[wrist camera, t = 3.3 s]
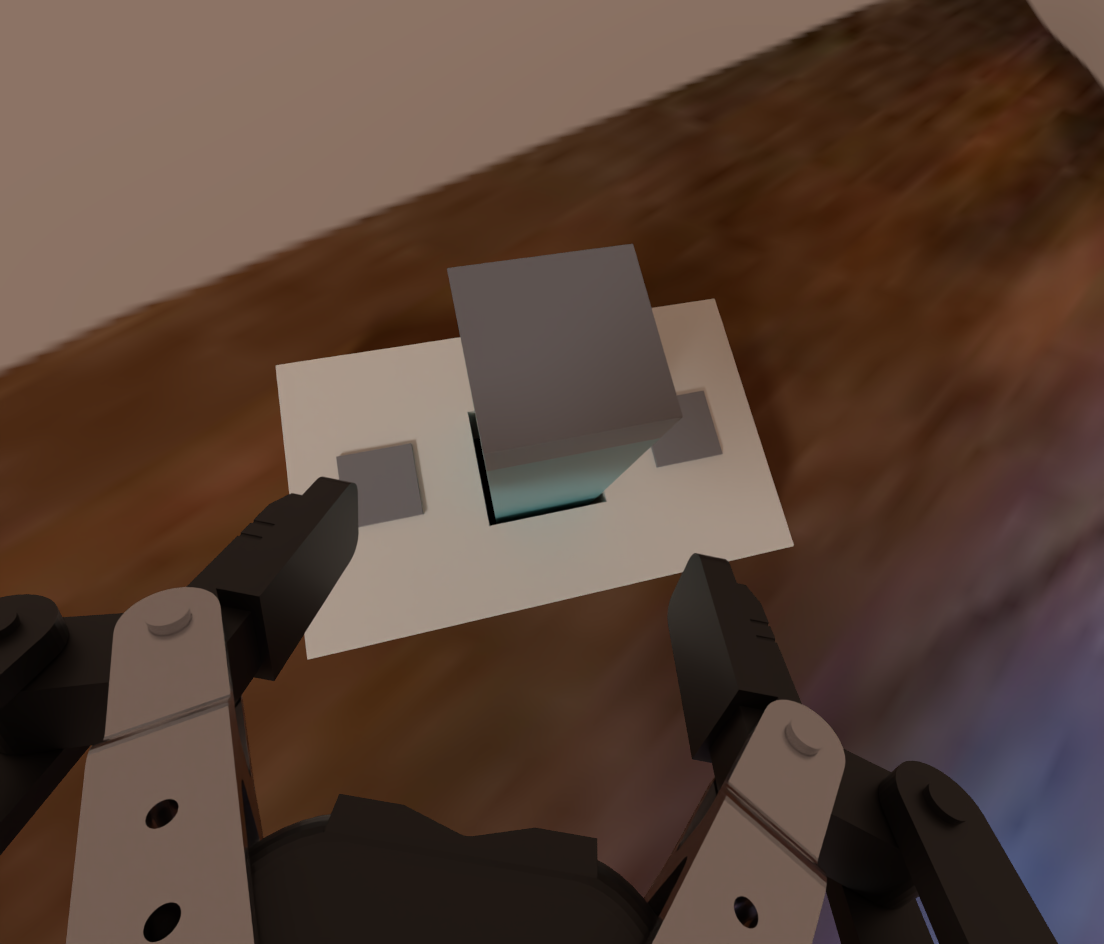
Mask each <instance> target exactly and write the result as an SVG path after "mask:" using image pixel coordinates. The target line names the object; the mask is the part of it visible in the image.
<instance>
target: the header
mask: <svg viewBox="0 0 1104 944" xmlns="http://www.w3.org/2000/svg"><path fill="white" fill-rule="evenodd" d="M652 312H653V315H654V318H655V322H656V325H657V329H658V332H659V336H660V339H661V343H662V346H663V350H664V353H665V356H666V360H667V363H668V367H669V370H670V374H671V377H672V381H673V384H674V388H675V391H676V394H677V398H678V401H679V405H680V408H681V412H682V415H683V417H682V418H681V419H680V420H679V421H678V422H677V423H676V424H675V425H674V426H672V427H671V428H670V429H669V430H668V431H667V432H666V433H665V434H664V435H663V436H662V437H661V438H660V439H659V440H658V441H657V442H655V443H654V444H653V445H652V446H651V447H650V448H649V449H648V450H647V451H646V452H645V453H644V454H643V455H642V456H641V457H640V458H638V459H637V460H636V461H635V462H634V463H633V464H632V465H631V466H630V467H629V468H628V469H627V470H626V471H625V472H624V473H622V474H621V475H620V476H619V477H618V478H617V479H616V480H615V481H614V482H613V483H612V484H611V485H610V486H609V487H608V488H607V489H605V490H604V491H603V492H602V493H601V494H600V495H599V496H598V497H597V498H596V499H595V500H594V501H593V502H592V503H591V504H590V505H588V506H583V507H578V508H574V509H569V510H564V511H559V512H554V513H549V514H545V515H540V516H535V517H530V518H525V519H521V520H516V521H511V522H506V523H501V524H496V525H492V526H491V525H490V520H489V515H488V509H487V504H486V499H485V494H484V489H483V484H482V478H481V473H480V468H479V463H478V458H477V453H476V447H475V442H474V439H477V438H480V437H479V431H478V426H477V421H476V416H475V411H474V406H473V400H472V395H471V390H470V385H469V380H468V374H467V369H466V364H465V359H464V354H463V348H462V343H461V338H460V337H459V338H452V339H446V340H439V341H433V342H426V343H420V344H413V345H407V346H400V347H393V348H387V349H380V350H374V351H367V352H361V353H354V354H348V355H341V356H335V357H328V358H321V359H315V360H308V361H302V362H295V363H289V364H282V365H276V374H277V383H278V392H279V401H280V411H281V420H282V429H283V438H284V448H285V457H286V466H287V475H288V485H289V494H291V493H295V494H300V495H303V494H304V492H305V491H306V490H307V489H308V488H309V487H310V486H311V485H312V484H313V483H314V482H315V481H316V480H317V479H318V478H319V477H322V476H323V477H328V478H333V479H338V480H343V481H348V482H353V483H355V484H356V485H357V489H358V530H359V534H358V542H357V546H356V550H355V553H354V555H353V557H352V559H351V561H350V563H349V564H348V566H347V567H346V569H345V570H344V572H343V574H342V575H341V577H340V578H339V580H338V581H337V583H336V585H335V586H334V588H333V589H332V591H331V593H330V594H329V596H328V597H327V599H326V600H325V602H324V604H323V605H322V607H321V608H320V610H319V611H318V613H317V615H316V616H315V618H314V619H313V621H312V622H311V624H310V626H309V627H308V629H307V630H306V632H305V642H306V651H307V660H308V659H312V658H316V657H321V656H325V655H329V654H334V653H338V652H342V651H346V650H351V649H355V648H359V647H364V646H368V645H372V644H376V643H381V642H385V641H389V640H393V639H398V638H402V637H406V636H411V635H415V634H419V633H423V632H428V631H432V630H436V629H441V628H445V627H449V626H453V625H458V624H462V623H466V622H470V621H475V620H479V619H483V618H488V617H492V616H496V615H500V614H505V613H509V612H513V611H518V610H522V609H526V608H530V607H535V606H539V605H543V604H548V603H552V602H556V601H560V600H565V599H569V598H573V597H577V596H582V595H586V594H590V593H595V592H599V591H603V590H607V589H612V588H616V587H620V586H625V585H629V584H633V583H637V582H642V581H646V580H650V579H654V578H659V577H663V576H667V575H672V574H676V573H680V572H683V571H684V569H685V567H686V565H687V562H688V560H689V558H690V557H691V555H692V554H694V553H698V554H703V555H708V556H713V557H718V558H723V559H726V560H727V561H732V560H736V559H740V558H744V557H749V556H753V555H757V554H761V553H766V552H770V551H774V550H779V549H783V548H787V547H791V546H794V545H793V541H792V538H791V535H790V532H789V529H788V526H787V523H786V520H785V517H784V513H783V510H782V507H781V504H780V501H779V498H778V495H777V492H776V488H775V485H774V482H773V479H772V476H771V473H770V470H769V467H768V464H767V460H766V457H765V454H764V451H763V448H762V445H761V442H760V439H759V436H758V432H757V429H756V426H755V423H754V420H753V417H752V414H751V411H750V408H749V404H748V401H747V398H746V395H745V392H744V389H743V386H742V383H741V379H740V376H739V373H738V370H737V367H736V364H735V361H734V358H733V355H732V351H731V348H730V345H729V342H728V339H727V336H726V333H725V330H724V327H723V323H722V320H721V317H720V314H719V311H718V308H717V305H716V302H715V299H708V300H701V301H695V302H688V303H682V304H675V305H669V306H662V307H656V308H652Z"/></svg>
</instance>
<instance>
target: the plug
mask: <svg viewBox="0 0 1104 944" xmlns="http://www.w3.org/2000/svg"><path fill="white" fill-rule="evenodd" d="M447 271H448V276H449V281H450V286H451V291H452V297H453V302H454V307H455V312H456V317H457V323H458V328H459V333H460V338H461V343H462V348H463V354H464V359H465V364H466V369H467V374H468V380H469V385H470V390H471V395H472V400H473V406H474V411H475V416H476V421H477V426H478V431H479V437H480V442H481V447H482V452H483V457H484V462H485V467H486V473H487V478H488V483H489V488H490V493H491V498H492V503H493V508H494V513H495V518H496V524H501V523H506V522H511V521H516V520H521V519H525V518H530V517H535V516H540V515H545V514H549V513H554V512H559V511H564V510H569V509H574V508H578V507H583V506H588V505H590V504H591V503H592V502H593V501H594V500H595V499H596V498H597V497H598V496H599V495H600V494H601V493H602V492H603V491H604V490H605V489H607V488H608V487H609V486H610V485H611V484H612V483H613V482H614V481H615V480H616V479H617V478H618V477H619V476H620V475H621V474H622V473H624V472H625V471H626V470H627V469H628V468H629V467H630V466H631V465H632V464H633V463H634V462H635V461H636V460H637V459H638V458H640V457H641V456H642V455H643V454H644V453H645V452H646V451H647V450H648V449H649V448H650V447H651V446H652V445H653V444H654V443H655V442H657V441H658V440H659V439H660V438H661V437H662V436H663V435H664V434H665V433H666V432H667V431H668V430H669V429H670V428H671V427H672V426H674V425H675V424H676V423H677V422H678V421H679V420H680V419H681V418H682V417H683V415H682V412H681V408H680V405H679V401H678V398H677V394H676V391H675V388H674V384H673V381H672V377H671V374H670V370H669V367H668V363H667V360H666V356H665V353H664V350H663V346H662V343H661V339H660V336H659V332H658V329H657V325H656V322H655V318H654V315H653V312H652V308H651V305H650V301H649V298H648V294H647V291H646V287H645V284H644V280H643V277H642V274H641V270H640V267H639V263H638V260H637V256H636V253H635V249H634V246H633V244H627V245H620V246H612V247H604V248H597V249H589V250H582V251H574V252H567V253H559V254H552V255H544V256H536V257H529V258H521V259H514V260H506V261H499V262H491V263H484V264H476V265H468V266H461V267H453V268H447Z"/></svg>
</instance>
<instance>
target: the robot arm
mask: <svg viewBox="0 0 1104 944" xmlns="http://www.w3.org/2000/svg"><path fill="white" fill-rule="evenodd" d="M358 534H359V530H358V489H357V485H356V484H355V483H353V482H348V481H343V480H338V479H333V478H328V477H323V476H322V477H319V478H318V479H317V480H316V481H315V482H314V483H313V484H312V485H311V486H310V487H309V488H308V489H307V490H306V491H305V492H304V494H303V495H300V494H295V493H291V494H289V495H287V496H285V497H283V498H281V499H279V500H277V501H275V502H273V503H271V504H269V505H268V506H267V507H266V508H265V509H264V510H263V511H262V512H261V513H260V514H259V515H258V516H257V517H256V518H255V519H254V522H253V523H250V524H249V525H248V526H247V527H246V528H245V529H244V530H243V531H242V532H241V535H240V536H237V537H236V538H235V539H234V540H233V541H232V542H231V543H230V544H229V545H228V546H227V547H226V548H225V549H224V550H223V551H222V552H221V553H220V554H219V555H218V556H217V557H216V558H215V559H214V560H213V561H212V562H211V563H210V564H209V565H208V566H207V567H206V568H205V569H204V570H203V571H202V572H201V573H200V574H199V575H198V576H197V577H196V578H195V579H194V580H193V581H192V582H191V583H190V584H189V585H188V586H187V587H181V588H174V589H168V590H165V591H161V592H158V593H155V594H153V595H150V596H148V597H146V598H144V599H142V600H141V601H139V602H137V603H136V604H134V605H133V606H132V607H130V608H129V609H128V610H127V611H126V612H125V613H120V614H106V615H92V616H77V617H62V616H61V614H60V612H59V610H58V608H57V606H56V604H55V603H54V602H53V601H52V600H50V599H48V598H46V597H43V596H39V595H29V594H25V595H12V596H6V597H1V598H0V855H1V854H2V852H3V851H4V850H5V849H6V848H7V846H8V845H9V844H10V843H11V842H12V840H13V839H14V838H15V837H16V835H17V834H18V833H19V832H20V831H21V829H22V828H23V827H24V826H25V824H26V823H27V822H28V821H29V820H30V818H31V817H32V816H33V815H34V813H35V812H36V811H37V810H38V809H39V807H40V806H41V805H42V804H43V802H44V801H45V800H46V799H47V798H48V796H49V795H50V794H51V793H52V792H53V790H54V789H55V788H56V787H57V785H58V784H59V783H60V782H61V781H62V779H63V778H64V777H65V776H66V774H67V773H68V772H69V771H70V770H71V768H72V767H73V766H74V765H75V763H76V762H77V761H78V760H79V759H80V757H81V756H82V755H83V754H84V752H85V751H86V750H87V749H88V748H89V746H90V745H92V747H91V748H90V750H89V753H88V756H87V760H86V766H85V774H84V783H83V793H82V802H81V811H80V820H79V829H78V839H77V848H76V857H75V866H74V875H73V885H72V894H71V903H70V912H69V921H68V930H67V940H66V944H812V941H813V937H814V934H815V930H816V926H817V922H818V918H819V915H820V911H821V907H822V903H823V899H824V895H825V891H826V893H827V896H828V900H829V903H830V907H831V910H832V914H833V917H834V920H835V924H836V927H837V931H838V934H839V938H840V941H841V944H934V942H933V940H932V938H931V935H930V933H929V930H928V928H927V926H926V923H925V921H924V918H923V916H922V913H921V911H920V909H919V906H918V904H917V901H916V899H915V898H917V897H920V899H921V901H922V904H923V906H924V909H925V911H926V913H927V916H928V918H929V920H930V923H931V925H932V928H933V930H934V932H935V935H936V937H937V939H938V942H939V944H1058V943H1057V941H1056V939H1055V938H1054V936H1053V934H1052V932H1051V931H1050V929H1049V927H1048V926H1047V924H1046V922H1045V920H1044V919H1043V917H1042V915H1041V913H1040V912H1039V910H1038V908H1037V907H1036V905H1035V903H1034V901H1033V900H1032V898H1031V896H1030V894H1029V893H1028V891H1027V889H1026V888H1025V886H1024V884H1023V882H1022V881H1021V879H1020V877H1019V875H1018V874H1017V872H1016V870H1015V869H1014V867H1013V865H1012V863H1011V862H1010V860H1009V858H1008V856H1007V855H1006V853H1005V851H1004V850H1003V848H1002V846H1001V844H1000V843H999V841H998V839H997V837H996V836H995V834H994V832H993V831H992V829H991V827H990V825H989V824H988V822H987V820H986V818H985V817H984V815H983V813H982V812H981V810H980V809H979V807H978V806H977V805H976V803H975V802H974V801H973V799H972V798H971V797H970V796H969V795H968V794H967V793H966V792H965V791H964V790H963V789H962V788H961V787H960V786H959V785H958V784H957V783H956V782H955V781H953V780H952V779H951V778H950V777H948V776H947V775H945V774H944V773H943V772H941V771H939V770H938V769H936V768H934V767H932V766H930V765H927V764H925V763H922V762H917V761H906V762H903V763H902V764H900V765H899V766H898V767H897V768H896V769H895V770H894V771H892V772H890V771H887V770H885V769H883V768H881V767H879V766H877V765H875V764H873V763H871V762H869V761H867V760H865V759H863V758H861V757H859V756H857V755H855V754H853V753H851V752H849V751H847V750H845V749H843V747H842V745H841V742H840V741H839V739H838V737H837V735H836V734H835V732H834V731H833V730H832V728H831V727H830V726H829V725H828V724H827V723H826V722H825V721H824V720H823V719H822V718H821V717H820V716H819V715H818V714H816V713H815V712H814V711H812V710H811V709H809V708H808V707H806V706H804V705H802V703H801V701H800V698H799V696H798V694H797V691H796V689H795V686H794V684H793V681H792V679H791V676H790V674H789V672H788V669H787V667H786V664H785V662H784V659H783V657H782V654H781V652H780V649H779V647H778V645H777V643H775V637H774V635H773V632H772V630H771V627H770V626H768V623H769V622H768V620H767V618H766V615H765V613H764V610H763V608H762V605H761V603H760V602H759V601H758V600H757V598H756V597H755V596H754V595H753V594H752V592H751V591H750V590H749V589H748V588H747V586H746V585H743V584H738V583H736V580H735V577H734V575H733V572H732V569H731V566H730V564H729V562H728V561H727V560H726V559H723V558H718V557H713V556H708V555H703V554H698V553H694V554H692V555H691V557H690V558H689V560H688V562H687V565H686V567H685V569H684V571H683V573H682V575H681V577H680V579H679V582H678V584H677V586H676V588H675V590H674V592H673V594H672V597H671V599H670V603H669V608H668V626H669V632H670V637H671V643H672V649H673V654H674V660H675V665H676V671H677V677H678V682H679V688H680V693H681V699H682V705H683V710H684V716H685V722H686V727H687V733H688V738H689V744H690V750H691V755H692V759H694V760H699V761H705V762H710V763H712V765H713V770H714V775H715V777H714V778H713V780H712V781H711V783H710V784H709V786H708V788H707V789H706V791H705V793H704V795H703V797H702V799H701V800H700V802H699V804H698V806H697V808H696V810H695V811H694V813H693V815H692V817H691V819H690V820H689V822H688V824H687V826H686V828H685V830H684V831H683V833H682V835H681V837H680V839H679V841H678V842H677V844H676V846H675V848H674V850H673V851H672V853H671V855H670V857H669V859H668V860H667V862H666V864H665V865H664V867H663V868H662V870H661V872H660V873H659V875H658V876H657V878H656V879H655V881H654V882H653V884H652V885H651V887H650V889H649V890H648V892H647V894H646V895H645V897H644V898H643V897H642V896H641V895H640V894H639V893H638V891H637V890H636V889H635V888H634V887H633V886H632V885H631V884H630V883H629V882H628V881H626V880H625V879H624V878H623V877H622V876H621V875H620V874H618V873H617V872H616V871H614V870H613V869H611V868H610V867H608V866H607V865H606V864H604V863H602V862H600V861H598V860H597V838H591V837H585V836H580V835H574V834H568V833H562V832H557V831H551V830H545V829H539V828H530V829H522V830H515V831H508V832H501V833H494V834H486V835H479V836H463V835H461V834H459V833H457V832H455V831H453V830H451V829H449V828H447V827H445V826H443V825H441V824H439V823H437V822H435V821H434V820H432V819H430V818H428V817H426V816H424V815H422V814H420V813H418V812H416V811H414V810H412V809H411V808H409V807H407V806H405V805H401V804H395V803H389V802H383V801H378V800H372V799H366V798H360V797H354V796H349V795H343V794H339V796H338V799H337V801H336V803H335V806H334V808H333V811H332V813H331V814H329V815H322V816H317V817H314V818H310V819H306V820H302V821H300V822H297V823H295V824H292V825H290V826H287V827H284V828H282V829H280V830H278V831H277V832H275V833H273V834H271V835H269V836H267V837H265V838H263V832H262V826H261V820H260V814H259V809H258V804H257V799H256V793H255V786H254V779H253V772H252V764H251V757H250V750H249V742H248V735H247V727H246V720H245V712H244V705H243V699H242V693H243V692H244V691H245V689H246V688H247V686H248V685H249V683H250V682H251V680H252V679H253V677H255V678H261V679H266V680H272V681H275V679H276V677H277V676H278V674H279V673H280V671H281V670H282V668H283V666H284V665H285V663H286V662H287V660H288V659H289V657H290V655H291V654H292V652H293V651H294V649H295V648H296V646H297V644H298V643H299V641H300V640H301V638H302V637H303V635H304V633H305V632H306V630H307V629H308V627H309V626H310V624H311V622H312V621H313V619H314V618H315V616H316V615H317V613H318V611H319V610H320V608H321V607H322V605H323V604H324V602H325V600H326V599H327V597H328V596H329V594H330V593H331V591H332V589H333V588H334V586H335V585H336V583H337V581H338V580H339V578H340V577H341V575H342V574H343V572H344V570H345V569H346V567H347V566H348V564H349V563H350V561H351V559H352V557H353V555H354V553H355V550H356V546H357V542H358Z"/></svg>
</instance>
